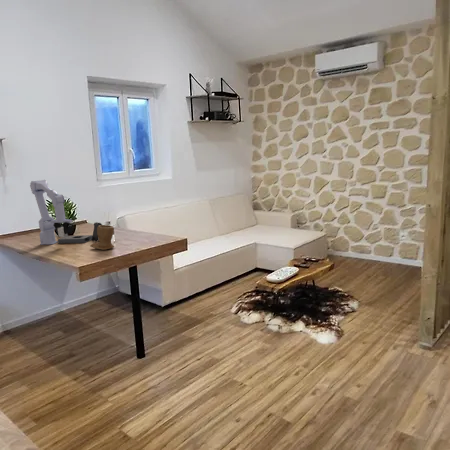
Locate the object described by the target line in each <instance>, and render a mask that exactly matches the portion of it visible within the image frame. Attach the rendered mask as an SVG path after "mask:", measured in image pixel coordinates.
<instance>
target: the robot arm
mask: <svg viewBox="0 0 450 450" xmlns="http://www.w3.org/2000/svg"><path fill="white" fill-rule="evenodd" d="M29 184H30V185H29V187H30V191H31V194H32V195H34V197H35V201H36V204H37V207H38V210H39V213H40V216H41V218H40V219H39V220H38V228H39V230H40V232H39V241H40V244H39V245H54V244H56V243H58V240H56V239H57V238H56V234H55V230H56V231H57V233H58V228H60V227H63V228H64V233H65V234H68V230H69V226H70V224H71V223H73V219H67V218H66V213H65V207H64V203H65V202H66V201H65V197H64V195H63V194H59V193H58V192H57V191H56V190H55V189H53V188H50V186H49V183H48V181H47V180H46V179H41V180H40V179H39V180H31V182H30V183H29ZM45 193H46V196H47V197H48V198H49V199H50V200H51V203H52V206H53V208H54V215H55V219H54V217H52V216H50V213H49V210H48V207H47V204H46V201H45V197H44V194H45Z"/></svg>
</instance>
